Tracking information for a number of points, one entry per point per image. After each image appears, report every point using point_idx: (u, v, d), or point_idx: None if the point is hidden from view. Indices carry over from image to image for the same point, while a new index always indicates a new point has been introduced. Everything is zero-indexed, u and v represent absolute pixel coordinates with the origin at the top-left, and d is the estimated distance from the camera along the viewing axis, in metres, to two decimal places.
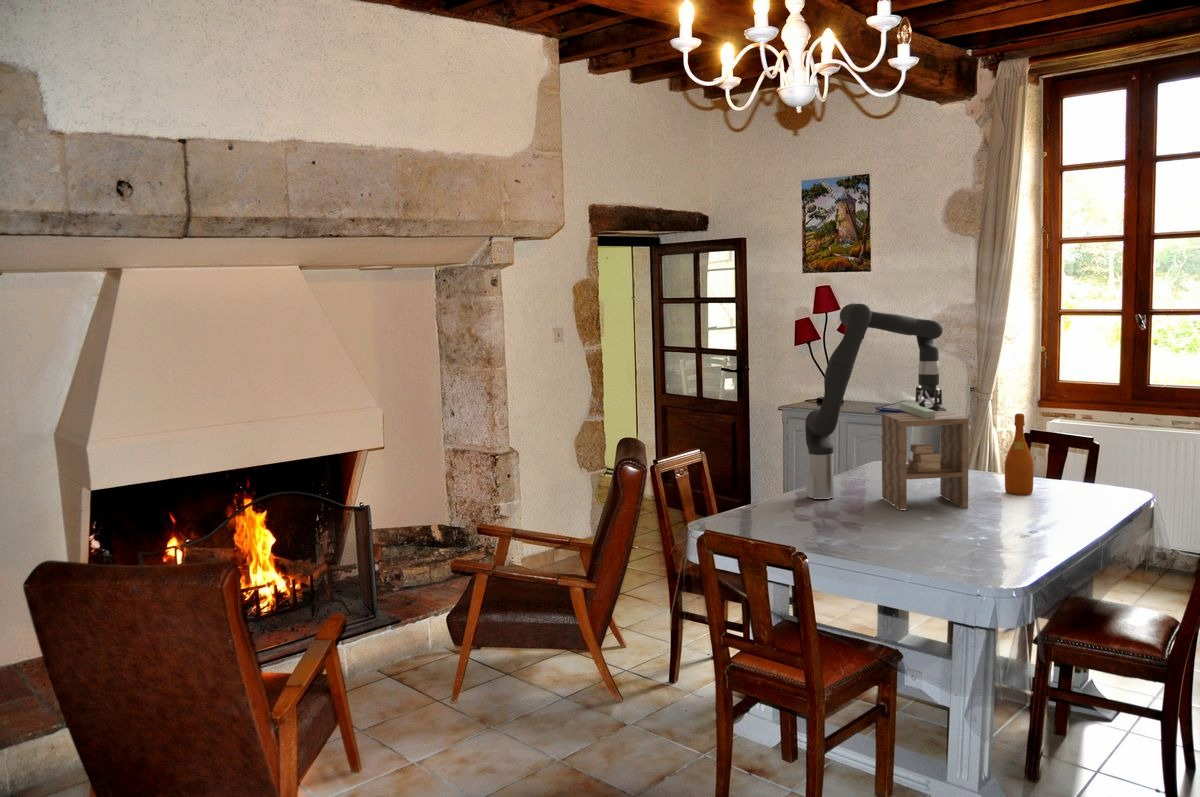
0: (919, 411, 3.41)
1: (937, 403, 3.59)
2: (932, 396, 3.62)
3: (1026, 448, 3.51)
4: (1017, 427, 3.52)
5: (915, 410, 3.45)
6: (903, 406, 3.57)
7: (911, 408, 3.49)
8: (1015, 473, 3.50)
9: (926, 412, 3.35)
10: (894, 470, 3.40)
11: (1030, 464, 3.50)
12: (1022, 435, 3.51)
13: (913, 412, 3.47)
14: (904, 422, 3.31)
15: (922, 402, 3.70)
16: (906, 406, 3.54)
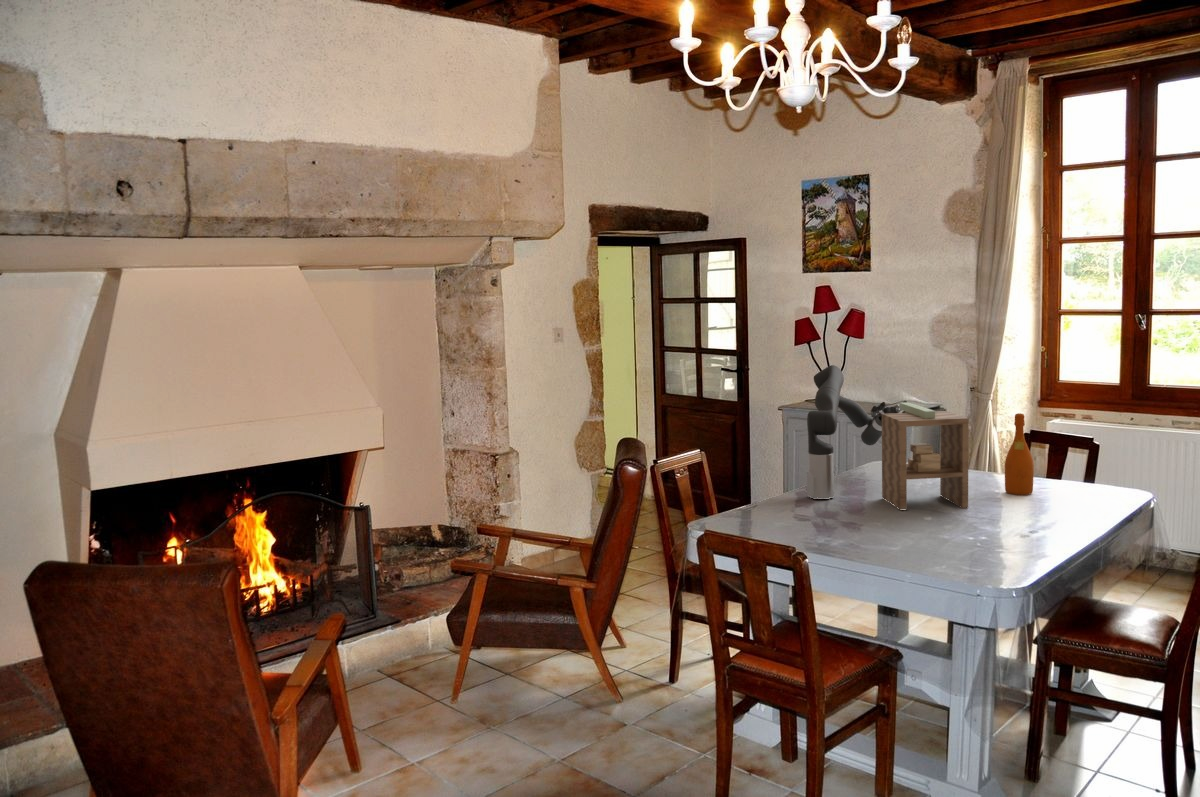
0: (919, 411, 3.41)
1: None
2: (896, 410, 3.78)
3: (1026, 448, 3.51)
4: (1017, 427, 3.52)
5: (915, 410, 3.45)
6: (903, 406, 3.57)
7: (911, 408, 3.49)
8: (1015, 473, 3.50)
9: (926, 412, 3.35)
10: (894, 470, 3.40)
11: (1030, 464, 3.50)
12: (1022, 435, 3.51)
13: (913, 412, 3.47)
14: (904, 422, 3.31)
15: None
16: (906, 406, 3.54)
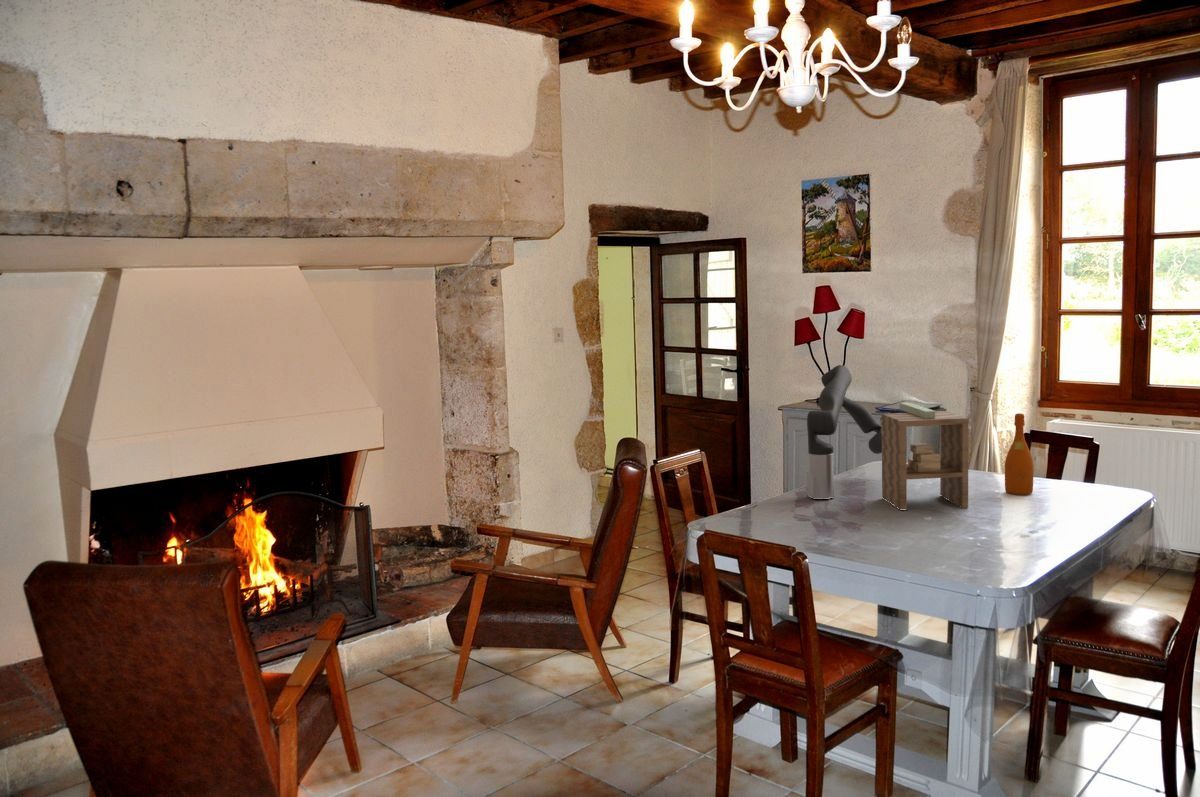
0: (919, 411, 3.41)
1: None
2: None
3: (1026, 448, 3.51)
4: (1017, 427, 3.52)
5: (915, 410, 3.45)
6: (903, 406, 3.57)
7: (911, 408, 3.49)
8: (1015, 473, 3.50)
9: (926, 412, 3.35)
10: (894, 470, 3.40)
11: (1030, 464, 3.50)
12: (1022, 435, 3.51)
13: (913, 412, 3.47)
14: (904, 422, 3.31)
15: None
16: (906, 406, 3.54)
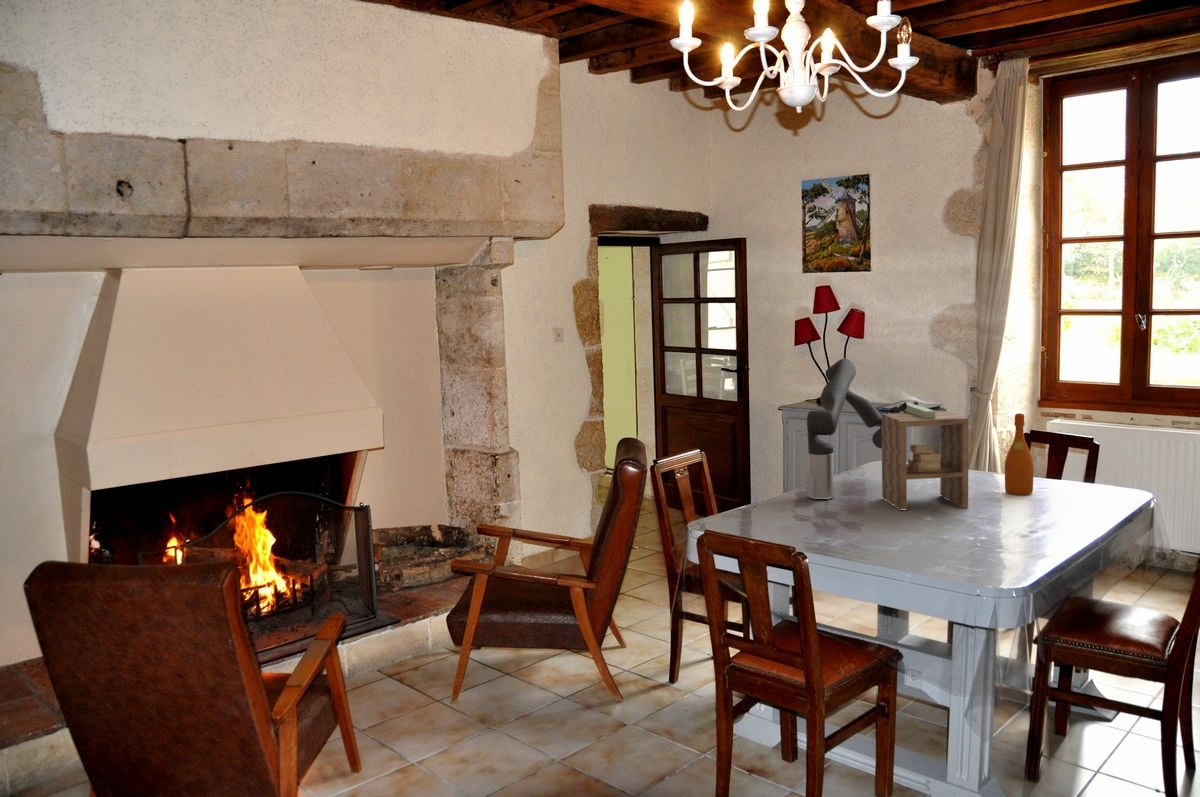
0: (919, 411, 3.41)
1: None
2: None
3: (1026, 448, 3.51)
4: (1017, 427, 3.52)
5: (915, 410, 3.45)
6: None
7: (911, 408, 3.49)
8: (1015, 473, 3.50)
9: (926, 412, 3.35)
10: (894, 470, 3.40)
11: (1030, 464, 3.50)
12: (1022, 435, 3.51)
13: (913, 412, 3.47)
14: (904, 422, 3.31)
15: None
16: None
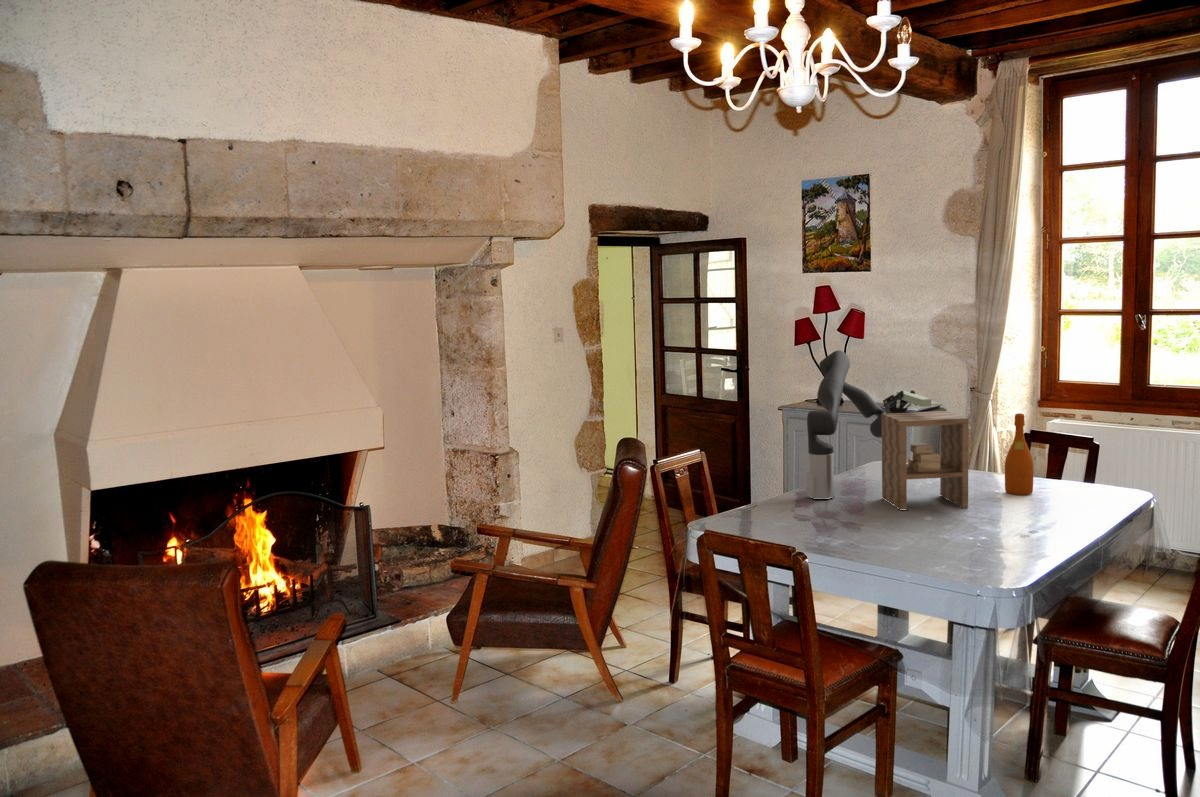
0: (915, 399, 3.44)
1: None
2: None
3: (1026, 448, 3.51)
4: (1017, 427, 3.52)
5: (911, 398, 3.48)
6: None
7: (908, 396, 3.52)
8: (1015, 473, 3.50)
9: (922, 400, 3.38)
10: (894, 470, 3.40)
11: (1030, 464, 3.50)
12: (1022, 435, 3.51)
13: (910, 400, 3.50)
14: (904, 422, 3.31)
15: None
16: None
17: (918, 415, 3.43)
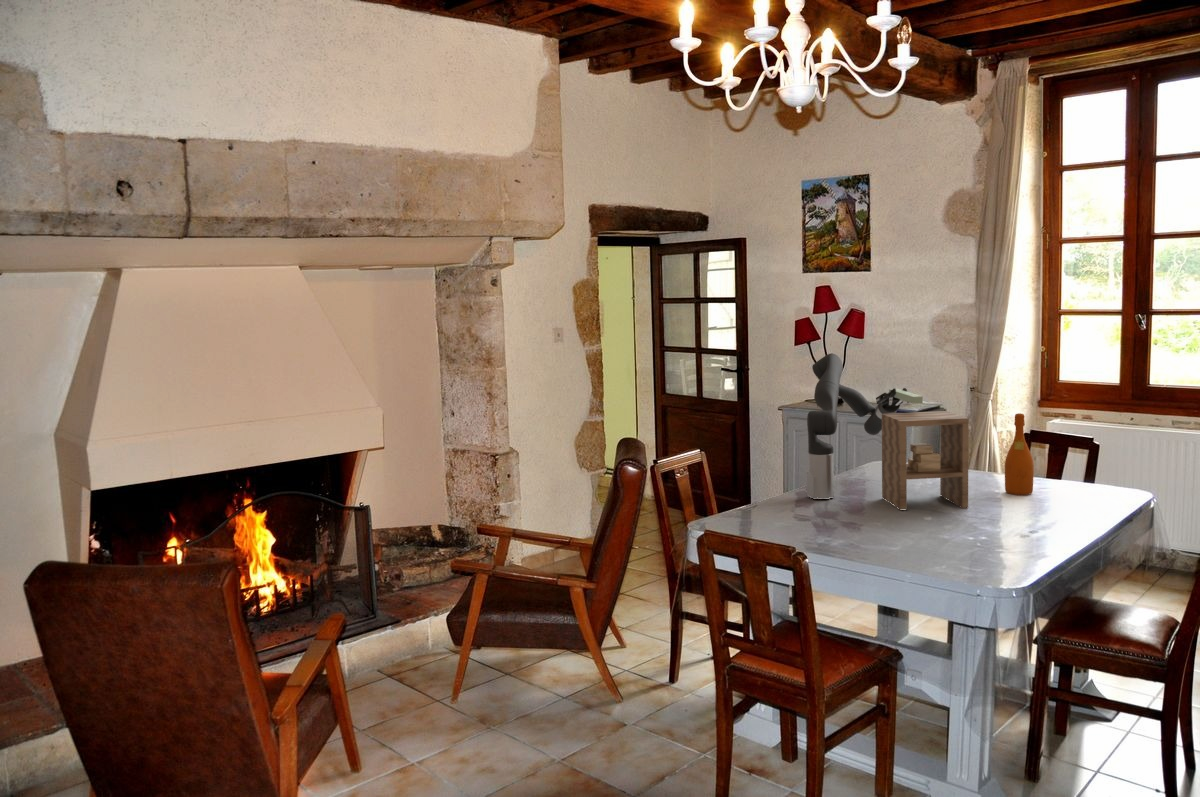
0: (907, 397, 3.52)
1: None
2: None
3: (1026, 448, 3.51)
4: (1017, 427, 3.52)
5: (903, 396, 3.56)
6: None
7: (900, 394, 3.60)
8: (1015, 473, 3.50)
9: (914, 397, 3.46)
10: (894, 470, 3.40)
11: (1030, 464, 3.50)
12: (1022, 435, 3.51)
13: (902, 398, 3.58)
14: (904, 422, 3.31)
15: None
16: None
17: (918, 415, 3.43)
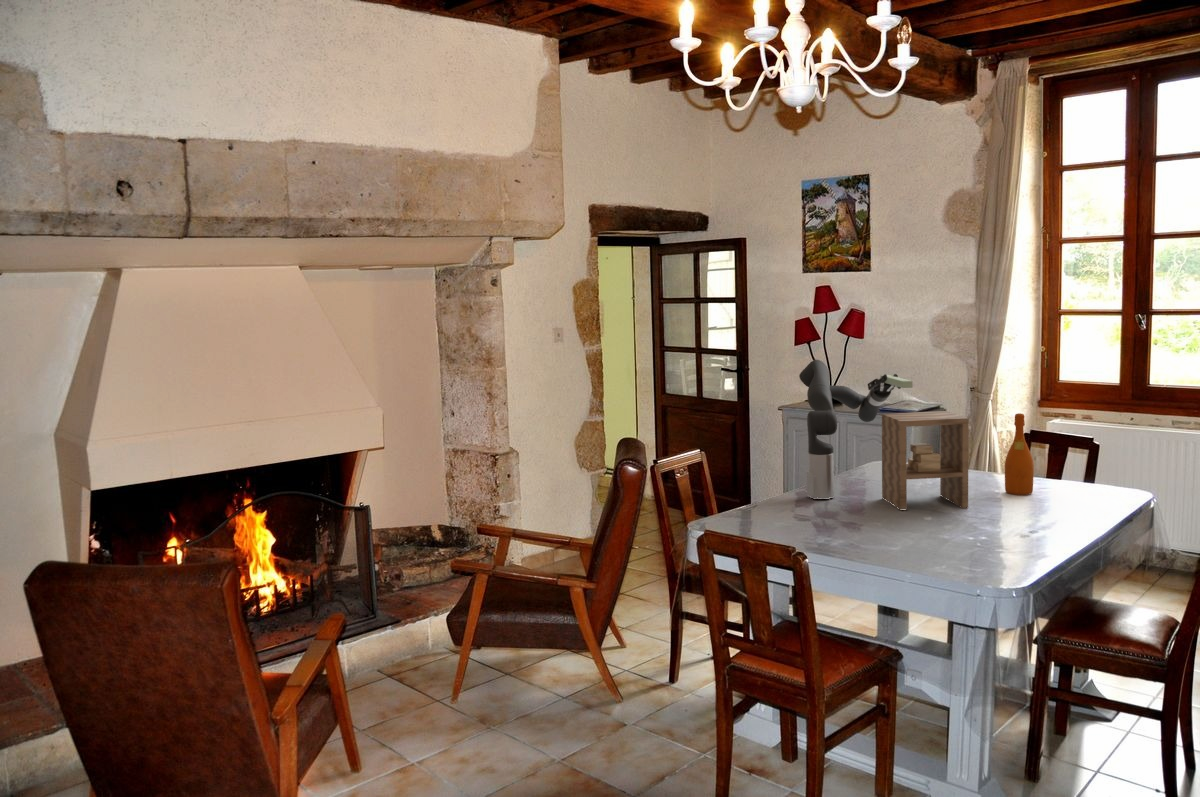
0: (898, 381, 3.62)
1: None
2: (890, 384, 3.82)
3: (1026, 448, 3.51)
4: (1017, 427, 3.52)
5: (894, 381, 3.66)
6: None
7: (890, 379, 3.70)
8: (1015, 473, 3.50)
9: (904, 382, 3.56)
10: (894, 470, 3.40)
11: (1030, 464, 3.50)
12: (1022, 435, 3.51)
13: (892, 383, 3.68)
14: (904, 422, 3.31)
15: None
16: None
17: (918, 415, 3.43)
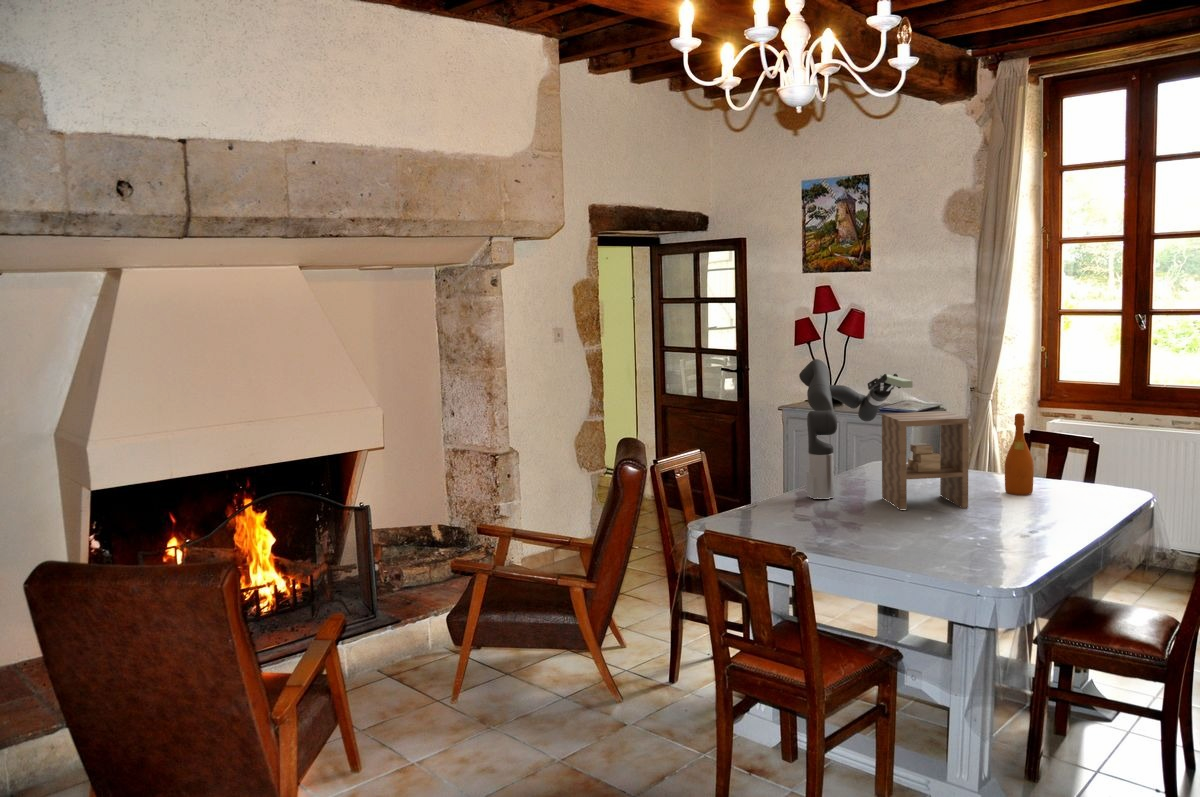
0: (898, 381, 3.62)
1: None
2: None
3: (1026, 448, 3.51)
4: (1017, 427, 3.52)
5: (894, 381, 3.66)
6: None
7: (890, 379, 3.69)
8: (1015, 473, 3.50)
9: (904, 382, 3.56)
10: (894, 470, 3.40)
11: (1030, 464, 3.50)
12: (1022, 435, 3.51)
13: (892, 383, 3.68)
14: (904, 422, 3.31)
15: None
16: None
17: (918, 415, 3.43)
